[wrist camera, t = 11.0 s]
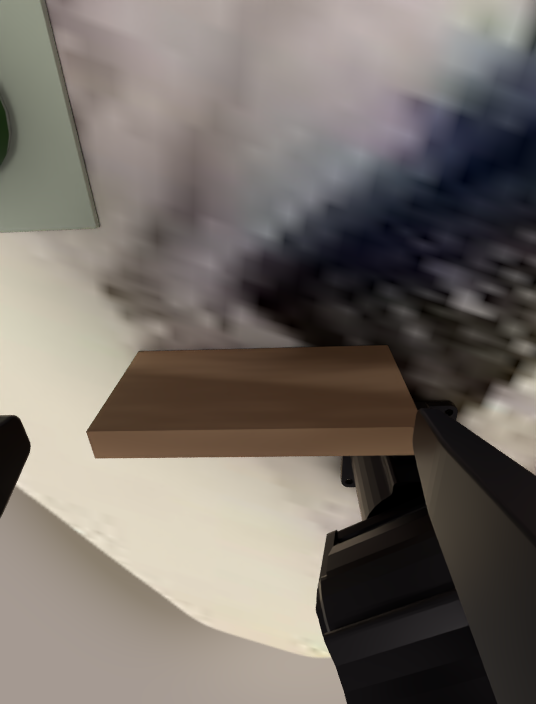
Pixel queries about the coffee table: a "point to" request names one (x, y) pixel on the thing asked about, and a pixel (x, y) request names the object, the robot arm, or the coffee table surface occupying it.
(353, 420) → the stand
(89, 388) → the coffee table surface
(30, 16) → the mat
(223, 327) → the coffee table surface
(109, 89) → the coffee table surface
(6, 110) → the beer can
